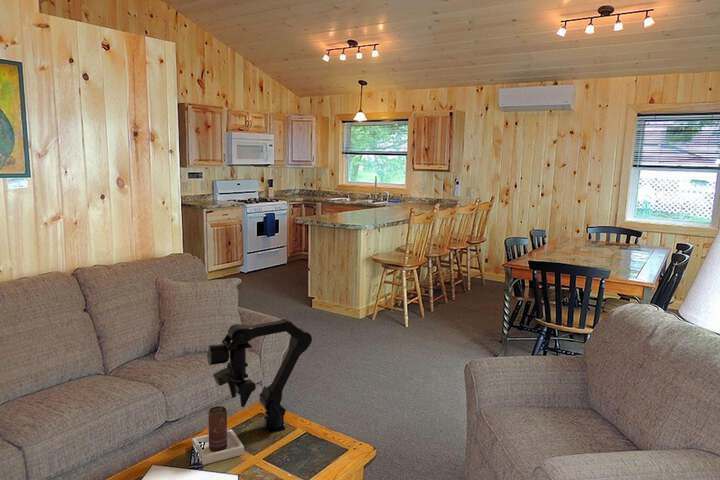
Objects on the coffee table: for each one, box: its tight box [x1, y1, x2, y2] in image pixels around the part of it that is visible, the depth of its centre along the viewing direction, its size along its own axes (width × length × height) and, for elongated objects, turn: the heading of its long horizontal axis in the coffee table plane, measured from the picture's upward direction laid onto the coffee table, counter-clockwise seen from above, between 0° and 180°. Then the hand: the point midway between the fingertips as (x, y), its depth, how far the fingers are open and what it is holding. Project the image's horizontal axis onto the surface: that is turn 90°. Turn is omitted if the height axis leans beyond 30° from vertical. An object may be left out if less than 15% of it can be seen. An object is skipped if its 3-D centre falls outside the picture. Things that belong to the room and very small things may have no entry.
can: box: [207, 405, 228, 452], centre depth 180 cm, size 6×6×14 cm
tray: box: [191, 429, 245, 466], centre depth 181 cm, size 14×14×3 cm
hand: (238, 402), depth 189 cm, fingers open, 9 cm apart
